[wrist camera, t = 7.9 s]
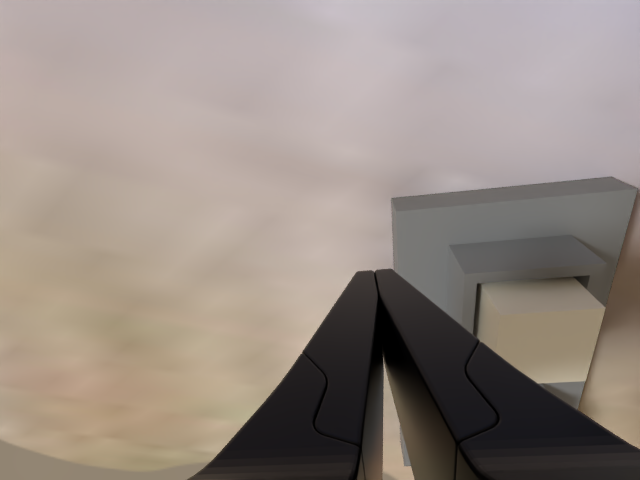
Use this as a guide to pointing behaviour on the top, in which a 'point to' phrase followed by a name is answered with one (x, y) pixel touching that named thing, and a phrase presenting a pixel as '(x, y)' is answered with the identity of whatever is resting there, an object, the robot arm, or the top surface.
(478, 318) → the beige cube
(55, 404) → the top surface
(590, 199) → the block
